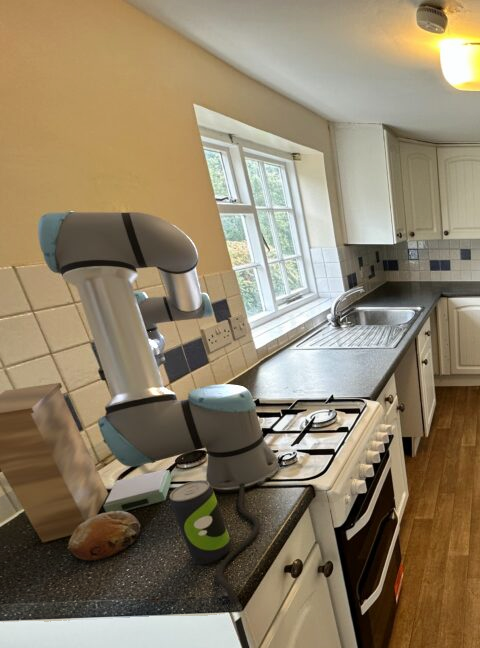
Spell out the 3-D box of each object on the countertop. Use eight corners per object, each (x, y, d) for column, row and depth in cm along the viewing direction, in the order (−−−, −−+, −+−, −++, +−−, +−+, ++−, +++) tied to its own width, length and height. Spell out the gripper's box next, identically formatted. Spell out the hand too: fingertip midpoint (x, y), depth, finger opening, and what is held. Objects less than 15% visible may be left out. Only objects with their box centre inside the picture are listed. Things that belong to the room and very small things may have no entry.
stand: (92, 529, 85) (31, 407, 74) (38, 543, 81) (-34, 418, 70) (111, 492, 96) (60, 382, 85) (64, 504, 92) (5, 390, 82)
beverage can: (200, 546, 81) (175, 483, 75) (236, 538, 82) (215, 476, 77) (188, 570, 75) (161, 504, 69) (227, 561, 77) (204, 496, 71)
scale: (165, 501, 93) (160, 490, 92) (106, 516, 89) (101, 505, 87) (172, 478, 101) (168, 467, 100) (119, 490, 97) (114, 480, 96)
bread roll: (139, 535, 88) (119, 503, 87) (154, 533, 83) (133, 499, 81) (78, 568, 80) (55, 533, 79) (90, 568, 74) (65, 531, 73)
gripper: (178, 362, 120) (165, 390, 101) (108, 372, 113) (79, 403, 94) (170, 337, 117) (154, 361, 98) (97, 345, 110) (65, 373, 91)
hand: (118, 382), depth 96 cm, fingers closed on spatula, 2 cm apart
